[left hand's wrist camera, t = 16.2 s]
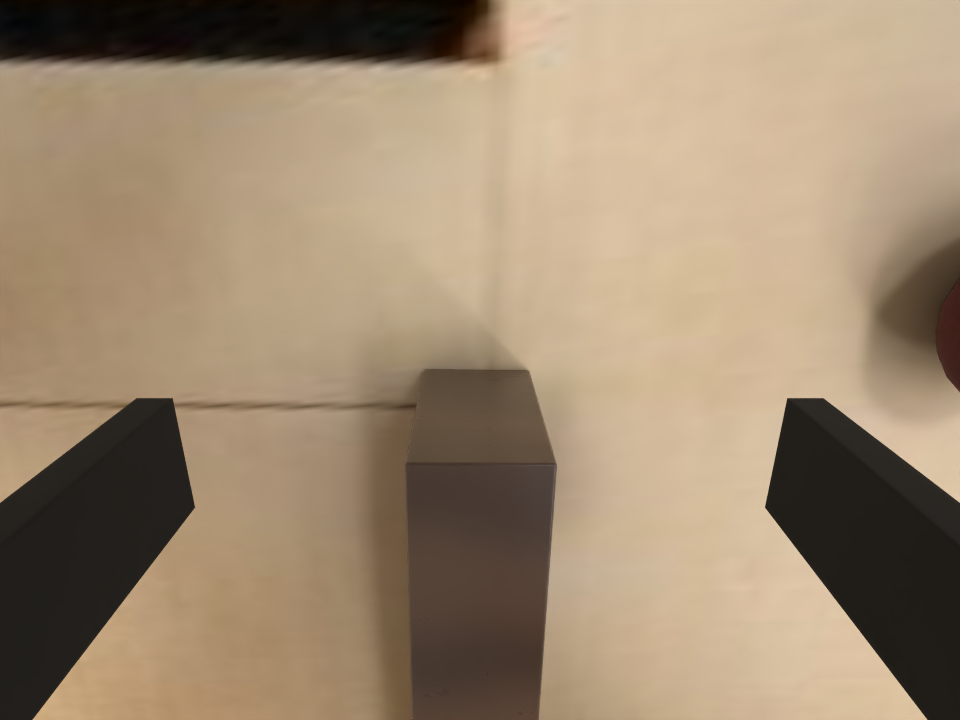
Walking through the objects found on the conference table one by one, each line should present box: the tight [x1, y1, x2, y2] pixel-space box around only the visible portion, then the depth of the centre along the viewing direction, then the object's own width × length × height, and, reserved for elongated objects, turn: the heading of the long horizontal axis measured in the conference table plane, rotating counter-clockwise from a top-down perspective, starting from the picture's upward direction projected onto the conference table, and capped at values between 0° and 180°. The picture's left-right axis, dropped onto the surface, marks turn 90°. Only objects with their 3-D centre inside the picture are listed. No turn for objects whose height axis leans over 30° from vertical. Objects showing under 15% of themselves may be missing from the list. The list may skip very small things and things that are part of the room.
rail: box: [405, 370, 557, 720], centre depth 25 cm, size 26×4×8 cm, turn 179°
